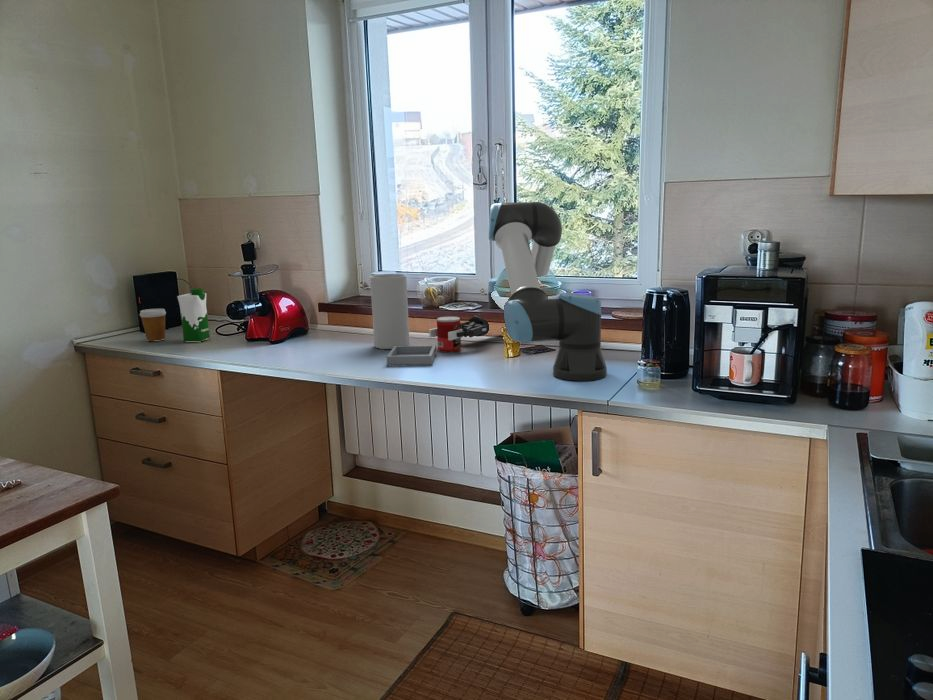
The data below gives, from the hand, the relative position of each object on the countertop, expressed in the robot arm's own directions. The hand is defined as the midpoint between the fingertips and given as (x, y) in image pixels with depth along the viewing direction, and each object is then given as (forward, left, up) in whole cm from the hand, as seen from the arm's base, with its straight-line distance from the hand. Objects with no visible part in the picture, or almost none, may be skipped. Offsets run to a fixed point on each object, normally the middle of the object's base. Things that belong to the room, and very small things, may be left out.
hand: (439, 334), depth 231 cm
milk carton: (+29, +96, -6) cm, 100 cm away
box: (-10, +8, -6) cm, 14 cm away
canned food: (+4, -3, -6) cm, 8 cm away
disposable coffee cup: (+31, +113, -6) cm, 117 cm away
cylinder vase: (+12, +18, -6) cm, 22 cm away
